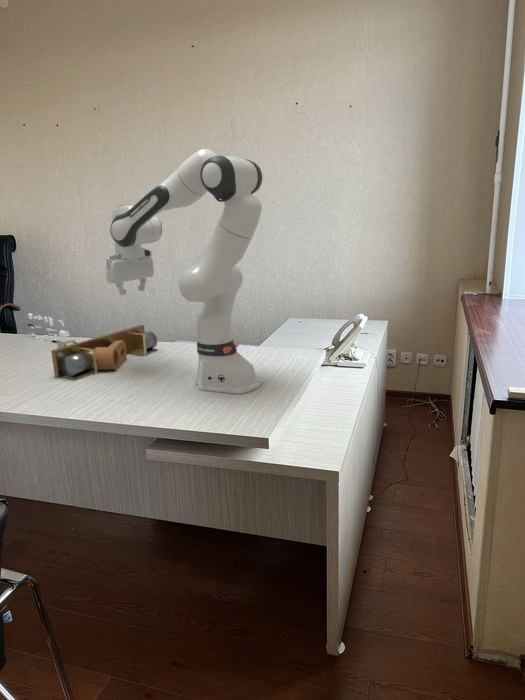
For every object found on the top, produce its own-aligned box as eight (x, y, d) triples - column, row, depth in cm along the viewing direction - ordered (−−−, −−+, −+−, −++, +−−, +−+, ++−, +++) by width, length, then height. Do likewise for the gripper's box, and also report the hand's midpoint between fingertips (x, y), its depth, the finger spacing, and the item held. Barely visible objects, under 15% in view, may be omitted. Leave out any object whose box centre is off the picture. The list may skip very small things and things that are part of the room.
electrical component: (93, 358, 209) (92, 346, 208) (78, 361, 205) (77, 349, 204) (69, 347, 227) (68, 336, 225) (55, 350, 223) (54, 339, 222)
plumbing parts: (34, 335, 251) (31, 310, 247) (78, 345, 230) (74, 318, 226) (21, 338, 246) (18, 312, 242) (64, 349, 225) (61, 321, 222)
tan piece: (111, 350, 188) (92, 350, 188) (113, 372, 190) (94, 373, 190) (125, 338, 205) (107, 338, 205) (127, 358, 207) (110, 359, 207)
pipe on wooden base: (161, 350, 217) (159, 327, 215) (75, 382, 181) (71, 353, 178) (142, 348, 222) (140, 324, 220) (55, 377, 186) (51, 350, 184)
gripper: (113, 256, 175) (117, 297, 178) (155, 250, 192) (158, 289, 195) (99, 256, 178) (104, 296, 181) (141, 250, 195) (145, 288, 198)
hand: (132, 292), depth 188 cm, fingers open, 8 cm apart
